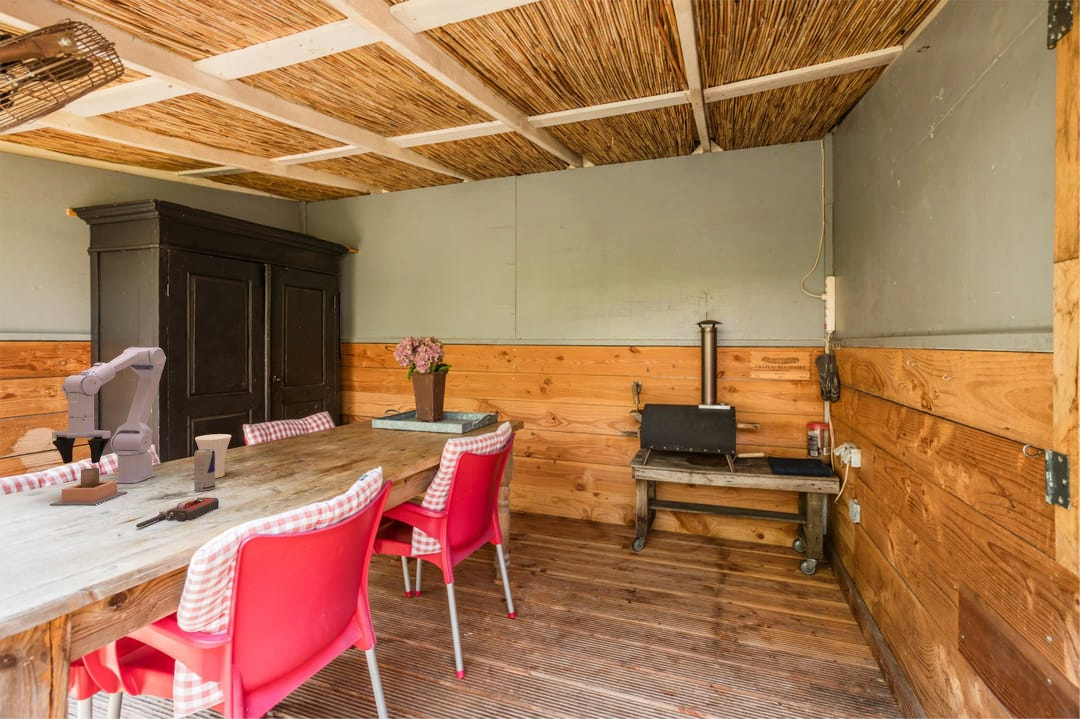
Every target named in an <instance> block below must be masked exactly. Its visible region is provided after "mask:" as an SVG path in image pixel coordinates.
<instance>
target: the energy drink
mask: <svg viewBox="0 0 1080 719" xmlns="http://www.w3.org/2000/svg"><path fill="white" fill-rule="evenodd" d="M193 456H194V457H193V458H194V461H193V462H194V466H193V467H194V469H193V470H194V478H193V479H194V481H193V482H194V488H193V489H194V491H195V492H208V491H207V490H209V491H212V490H214V489H215V488H216V478H215V452H214V450H213V449H203V450H199V449H198V450H194V454H193ZM211 489H212V490H211Z"/></svg>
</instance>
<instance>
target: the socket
mask: <svg viewBox="0 0 1080 719" xmlns="http://www.w3.org/2000/svg"><path fill="white" fill-rule="evenodd" d="M126 493H127V494H128V491H118V483H117V481H114V480H111V481H109V480H108V481H105V480H104V481H100V480H99V486H97V487H94V488H81V482H80V483H79V484H78V483H77V484H75V485H72V486H71V485H70V486H68V487H66V488H63V489H61V499H60V500H57V501H55V502H52V503H49V506H50V505H88V506H97V505H96V504H99V503H101V504H103V503H102V502H104V501H106V502H108V501H107V500H109V501H111V500H113V498H114V499H116V498H119V497H121V496H120V495H122V496H123V494H124V495H126ZM118 496H119V497H118ZM115 497H116V498H115ZM110 499H111V500H110ZM104 503H105V502H104ZM99 505H100V504H99Z"/></svg>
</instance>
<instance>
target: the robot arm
mask: <svg viewBox="0 0 1080 719" xmlns="http://www.w3.org/2000/svg"><path fill="white" fill-rule="evenodd" d="M166 360H167V357H166V354H165V352H164V350H163V349H162V348H161V347H158V346H157V347H156V346H155V347H136V346H130V347H128V348H126V349H124V350H123V351H122V353H121V354H120V355H118V356H117V357H115V358H113V359H112V360H111V361H109V362H107V363H106V362H95V363H94V364H93V366H91V367H90V368H88V369H86V370H82V371H81V373H79V374H73V375H69V376H68V377H66V378H65V380H64V381H63V383H62V384H61V390H62V392H63V394H64V395H65V400H66V401H67V424H68V425H67V430H55V431H51V439H52V444H53V445H54V447H55V448H56V449H57V450H58V452H59V455H60V457H61V459H62V462H63V464H64V465H65V464H69V463H70V464H71V463H72V462H73V456H74V454H73V452H74V451H73V450H74V445H75V441H76V439H87V443H88V445H89V449H90V459H91V460H90V461H91V464H97V463H100V461H101V458H102V454H103V452H104V449H105V448H106V446H107V444H108V443H110V448H111V450H112V451H113V452H115V453H114V455H116V456H117V479H116V478H115V479H114V480H113V481H117V484H136V483H140V482H142V481H145V480H147V479H150V478H153V477H155V476H156V474H154V473H153V456H152V454H151V452H149V450H150V448H151V447H152V445H153V433H154V430H153V429H151V428H150V427H149V426H148V421H149V418H150V415H151V411H152V407H153V404H154V400H155V398H156V394H157V390H158V387H159V384H160V382H161V381H160V380H161V377H162V373H163V370H164V369H165V368H164V367H165V364H166ZM128 367H130V368H131V369H132V371H133V372H134V373H135V374H137V375H138V376H139V381H138V384H137V387H136V391H135V393H134V398H133V399H132V400H133V401H132V402H131V403H132V404H131V407H130V409H129V412H128V415H127V420H126V421H125V423H123V424H121V425H120V426H119V427H117V428H116V431H115V433H114V435H112V437H111V430H100V429H99V430H98V429H95V394H97V393H98V392H99V390H100V388H101V387H102V386H103V385H105V384H106V383H108V382H109V381H111V380H113V379H114V378H115V377H116V375H117V374H116V373H117V372H119V371H121V370H124V369H126V368H128ZM110 438H111V439H110ZM53 439H54V440H53Z"/></svg>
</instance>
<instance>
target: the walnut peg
mask: <svg viewBox="0 0 1080 719" xmlns="http://www.w3.org/2000/svg"><path fill="white" fill-rule="evenodd" d="M99 481H100V468H99V467H94V468H93V467H91V468H85V469H81V470H80V483H81V488H94V487H97V486H99Z"/></svg>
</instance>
